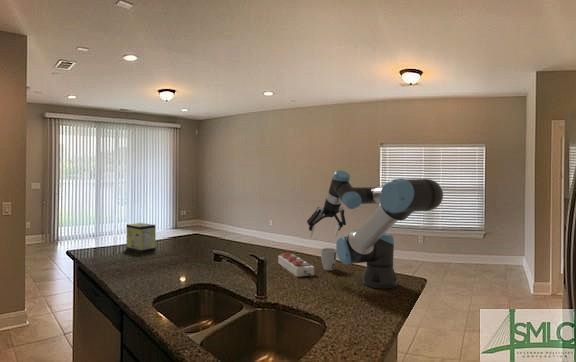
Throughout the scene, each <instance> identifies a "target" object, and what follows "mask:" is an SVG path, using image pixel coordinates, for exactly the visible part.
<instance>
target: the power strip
mask: <svg viewBox="0 0 576 362" xmlns="http://www.w3.org/2000/svg"><path fill="white" fill-rule="evenodd" d="M277 257H278V258H277V259H278V261H277V262H278V264H279V265H281V266H282V267H283V268H284V269H285V270H287V271H289V272H290V273H291V274H292V275H294V276H295V277H307V276H308V277H311V276H315V266H313V265H312V264H311V263H308V262H307V261H305V260H304V259H302V258H301V257H299V256H297V255H295V254H291V256H281V254H280V255H278V256H277ZM287 257H297V260H287ZM292 261H303V264H293V262H292Z"/></svg>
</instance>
